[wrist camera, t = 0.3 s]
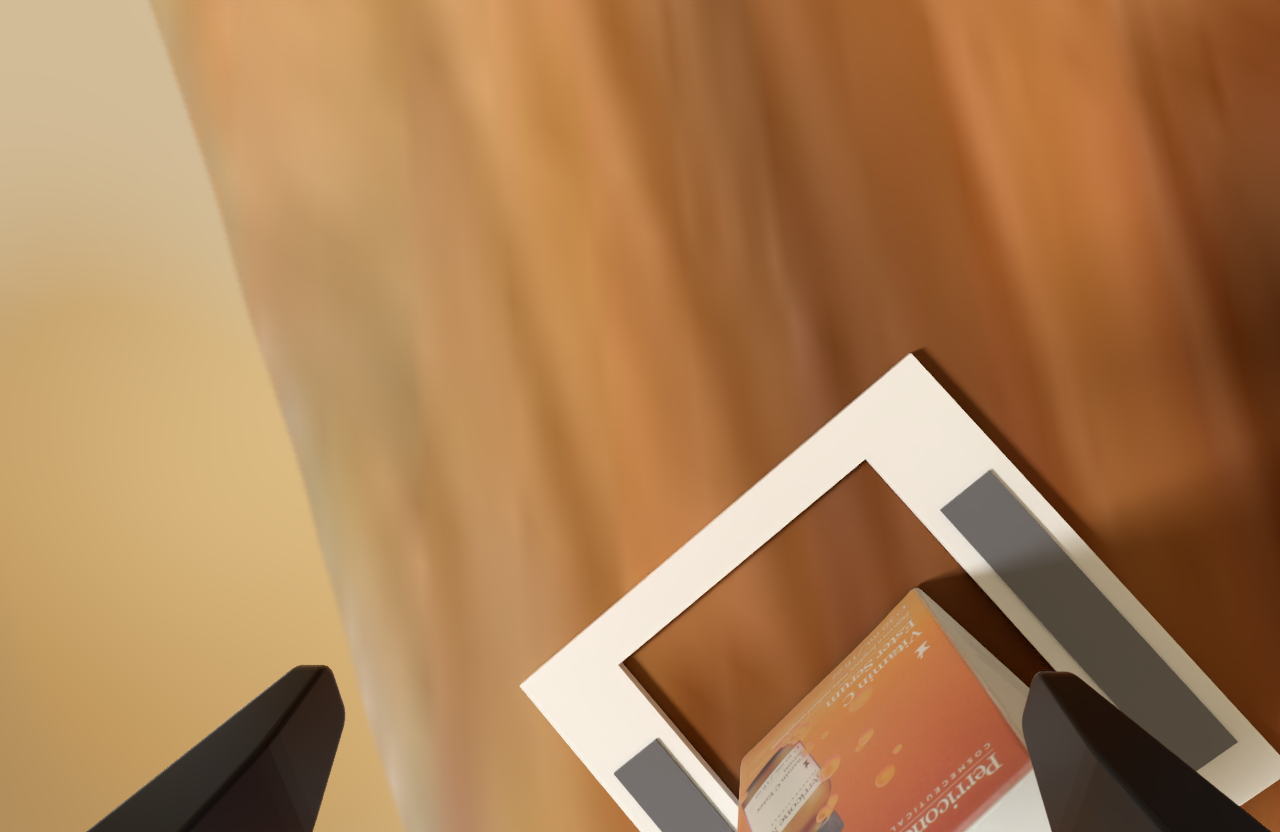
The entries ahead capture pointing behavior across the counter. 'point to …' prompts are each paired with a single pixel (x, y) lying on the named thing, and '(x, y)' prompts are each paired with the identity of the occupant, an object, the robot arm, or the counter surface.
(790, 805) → the small box
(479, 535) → the counter surface
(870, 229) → the counter surface
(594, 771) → the bracket
